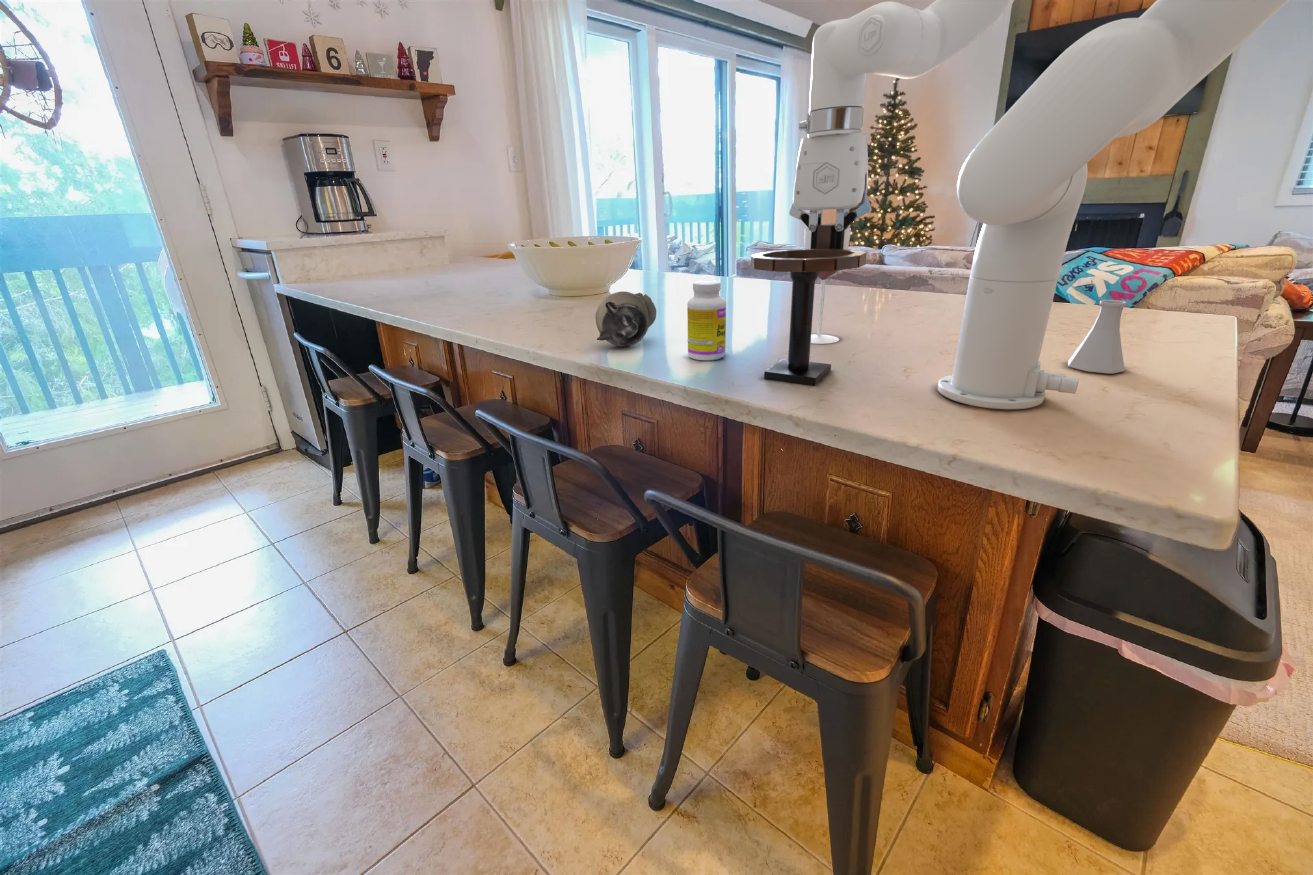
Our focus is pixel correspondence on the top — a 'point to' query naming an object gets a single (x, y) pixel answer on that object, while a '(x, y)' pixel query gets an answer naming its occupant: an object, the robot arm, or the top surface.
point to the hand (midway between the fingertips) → (826, 257)
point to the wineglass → (823, 290)
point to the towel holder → (800, 337)
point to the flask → (1102, 342)
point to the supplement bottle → (706, 321)
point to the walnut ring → (810, 257)
